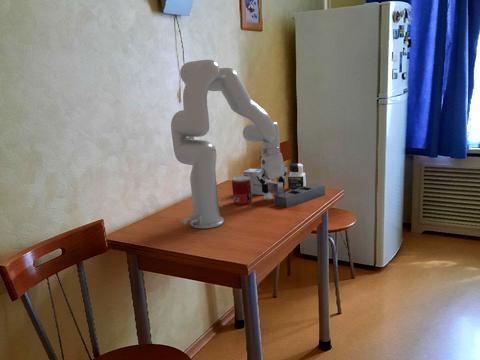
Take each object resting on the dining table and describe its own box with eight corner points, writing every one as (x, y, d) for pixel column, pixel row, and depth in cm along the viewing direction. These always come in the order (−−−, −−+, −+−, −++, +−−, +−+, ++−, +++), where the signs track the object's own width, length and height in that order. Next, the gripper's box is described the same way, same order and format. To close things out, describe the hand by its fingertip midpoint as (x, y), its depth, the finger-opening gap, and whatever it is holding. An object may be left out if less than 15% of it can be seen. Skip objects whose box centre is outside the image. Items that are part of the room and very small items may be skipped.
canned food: (252, 204, 185) (250, 179, 183) (233, 206, 185) (231, 180, 183) (252, 199, 193) (250, 175, 190) (233, 200, 193) (231, 176, 190)
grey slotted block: (286, 207, 177) (286, 198, 176) (274, 204, 182) (274, 195, 182) (325, 194, 192) (324, 185, 191) (312, 192, 197) (312, 183, 196)
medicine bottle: (288, 191, 202) (287, 165, 199) (291, 187, 209) (289, 162, 206) (303, 191, 200) (302, 165, 197) (306, 187, 207) (305, 162, 204)
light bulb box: (271, 191, 203) (269, 169, 201) (264, 195, 198) (262, 172, 195) (251, 190, 209) (249, 168, 207) (244, 193, 204) (242, 171, 201)
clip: (283, 200, 187) (282, 182, 185) (278, 202, 185) (277, 184, 184) (269, 197, 194) (268, 179, 192) (264, 199, 192) (263, 181, 190)
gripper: (262, 155, 177) (264, 196, 181) (291, 148, 187) (293, 187, 191) (249, 153, 182) (252, 193, 186) (279, 147, 193) (281, 184, 197)
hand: (273, 190), depth 189 cm, fingers open, 9 cm apart
